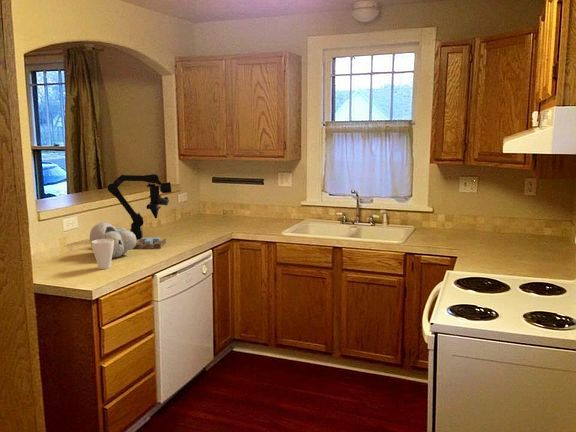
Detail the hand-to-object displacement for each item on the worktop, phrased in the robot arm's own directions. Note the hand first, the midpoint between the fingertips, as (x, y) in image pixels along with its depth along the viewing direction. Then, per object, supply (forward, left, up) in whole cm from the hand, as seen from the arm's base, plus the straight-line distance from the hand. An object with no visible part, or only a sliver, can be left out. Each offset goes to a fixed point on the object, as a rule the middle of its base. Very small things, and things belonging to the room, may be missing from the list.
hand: (156, 218), depth 332 cm
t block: (+2, -26, -12) cm, 29 cm away
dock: (+2, -26, -12) cm, 29 cm away
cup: (-8, -75, -12) cm, 76 cm away
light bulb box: (-17, -27, -12) cm, 34 cm away
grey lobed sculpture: (-13, -48, -12) cm, 51 cm away
